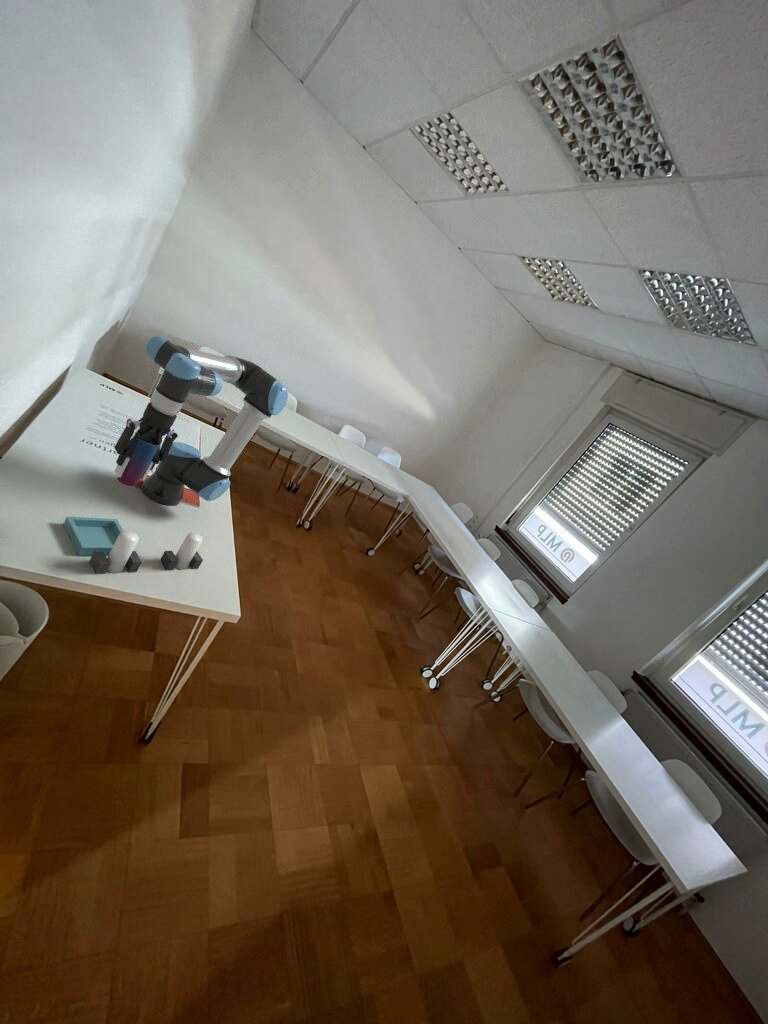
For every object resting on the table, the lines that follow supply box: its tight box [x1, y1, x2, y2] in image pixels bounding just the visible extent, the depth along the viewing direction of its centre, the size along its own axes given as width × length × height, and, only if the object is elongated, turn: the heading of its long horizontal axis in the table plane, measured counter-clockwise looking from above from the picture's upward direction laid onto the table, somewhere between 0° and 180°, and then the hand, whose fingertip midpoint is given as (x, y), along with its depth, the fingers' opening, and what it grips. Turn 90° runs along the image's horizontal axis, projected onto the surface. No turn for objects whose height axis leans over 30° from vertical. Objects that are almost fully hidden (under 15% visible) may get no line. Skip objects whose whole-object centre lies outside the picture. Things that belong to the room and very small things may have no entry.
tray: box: [62, 516, 125, 557], centre depth 127 cm, size 14×14×3 cm
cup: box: [117, 432, 162, 487], centre depth 120 cm, size 7×7×15 cm
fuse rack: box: [88, 529, 204, 575], centre depth 130 cm, size 32×5×12 cm, turn 142°
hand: (129, 475), depth 121 cm, fingers closed on cup, 6 cm apart
